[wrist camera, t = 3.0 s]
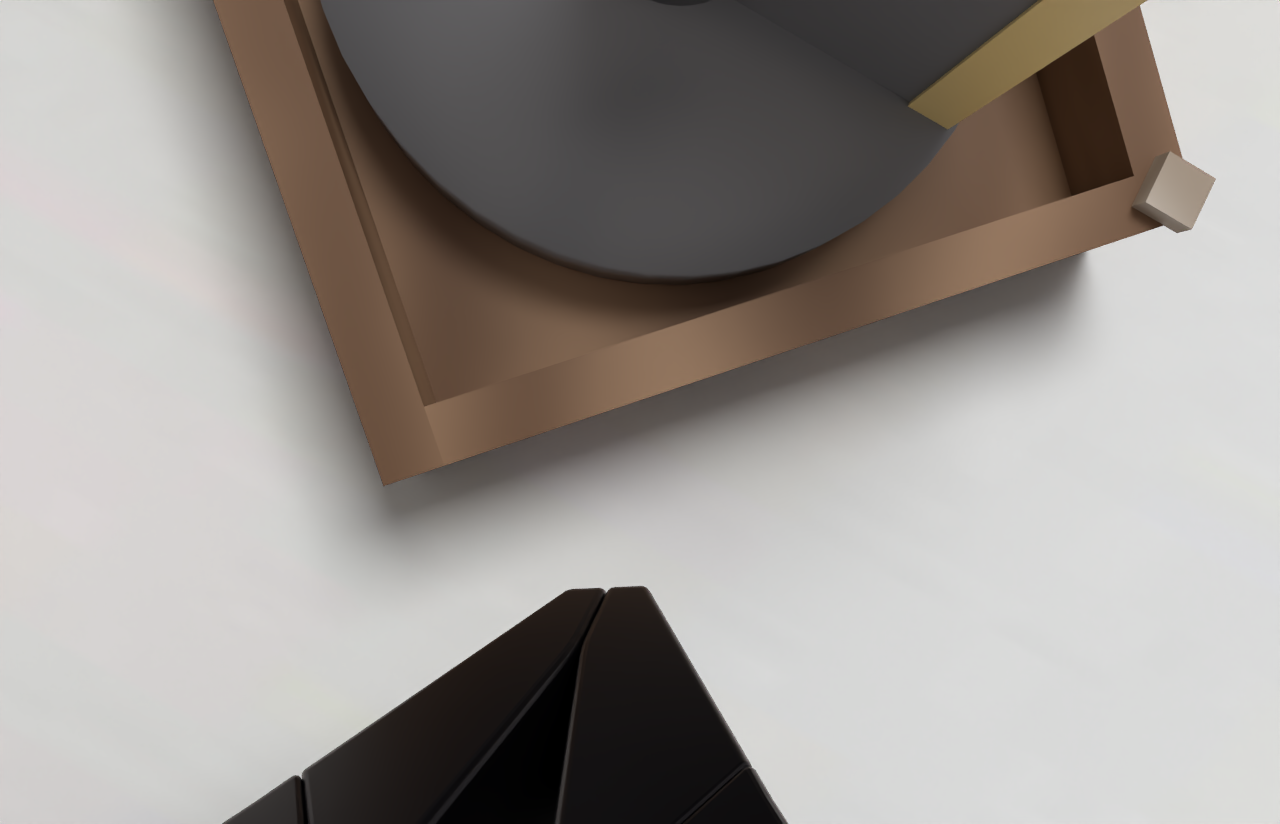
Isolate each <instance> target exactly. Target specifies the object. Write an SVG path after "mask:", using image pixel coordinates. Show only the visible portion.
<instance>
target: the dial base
mask: <svg viewBox="0 0 1280 824" xmlns="http://www.w3.org/2000/svg"><path fill="white" fill-rule="evenodd" d="M213 1H214V4H215V7H216V10H217V13H218V16H219V18H220V21H221V24H222V27H223V30H224V33H225V35H226V38H227V41H228V44H229V47H230V50H231V53H232V55H233V58H234V61H235V64H236V67H237V70H238V73H239V75H240V78H241V81H242V84H243V87H244V90H245V92H246V95H247V98H248V101H249V104H250V107H251V110H252V112H253V115H254V118H255V121H256V124H257V127H258V129H259V132H260V135H261V138H262V141H263V144H264V147H265V149H266V152H267V155H268V158H269V161H270V164H271V166H272V169H273V172H274V175H275V178H276V181H277V184H278V186H279V189H280V192H281V195H282V198H283V201H284V204H285V206H286V209H287V212H288V215H289V218H290V221H291V223H292V226H293V229H294V232H295V235H296V238H297V241H298V243H299V246H300V249H301V252H302V255H303V258H304V260H305V263H306V266H307V269H308V272H309V275H310V278H311V280H312V283H313V286H314V289H315V292H316V295H317V297H318V300H319V303H320V306H321V309H322V312H323V315H324V317H325V320H326V323H327V326H328V329H329V332H330V335H331V337H332V340H333V343H334V346H335V349H336V352H337V354H338V357H339V360H340V363H341V366H342V369H343V372H344V374H345V377H346V380H347V383H348V386H349V389H350V391H351V394H352V397H353V400H354V403H355V406H356V409H357V411H358V414H359V417H360V420H361V423H362V426H363V429H364V431H365V434H366V437H367V440H368V443H369V446H370V448H371V451H372V454H373V457H374V460H375V463H376V466H377V468H378V471H379V474H380V477H381V480H382V483H383V485H384V486H385V485H388V484H391V483H394V482H397V481H400V480H403V479H406V478H409V477H412V476H415V475H418V474H421V473H424V472H427V471H430V470H433V469H436V468H439V467H442V466H445V465H448V464H451V463H454V462H457V461H460V460H463V459H466V458H469V457H472V456H475V455H478V454H481V453H484V452H487V451H490V450H493V449H496V448H499V447H502V446H505V445H508V444H511V443H514V442H517V441H520V440H523V439H526V438H529V437H532V436H535V435H538V434H541V433H544V432H547V431H550V430H553V429H556V428H559V427H562V426H565V425H568V424H571V423H574V422H577V421H580V420H583V419H586V418H589V417H592V416H595V415H598V414H601V413H604V412H607V411H610V410H613V409H616V408H618V407H621V406H624V405H627V404H630V403H633V402H636V401H639V400H642V399H645V398H648V397H651V396H654V395H657V394H660V393H663V392H666V391H669V390H672V389H675V388H678V387H681V386H684V385H687V384H690V383H693V382H696V381H699V380H702V379H705V378H708V377H711V376H714V375H717V374H720V373H723V372H726V371H729V370H732V369H735V368H738V367H741V366H744V365H747V364H750V363H753V362H756V361H759V360H762V359H765V358H768V357H771V356H774V355H777V354H780V353H783V352H786V351H789V350H792V349H795V348H798V347H801V346H804V345H807V344H810V343H813V342H816V341H819V340H822V339H825V338H828V337H831V336H834V335H837V334H840V333H843V332H846V331H849V330H852V329H855V328H858V327H861V326H864V325H867V324H870V323H873V322H876V321H879V320H882V319H885V318H888V317H891V316H894V315H897V314H900V313H903V312H906V311H909V310H912V309H915V308H918V307H921V306H924V305H927V304H930V303H933V302H936V301H939V300H942V299H945V298H948V297H951V296H954V295H957V294H960V293H963V292H966V291H969V290H972V289H974V288H977V287H980V286H983V285H986V284H989V283H992V282H995V281H998V280H1001V279H1004V278H1007V277H1010V276H1013V275H1016V274H1019V273H1022V272H1025V271H1028V270H1031V269H1034V268H1037V267H1040V266H1043V265H1046V264H1049V263H1052V262H1055V261H1058V260H1061V259H1064V258H1067V257H1070V256H1073V255H1076V254H1079V253H1082V252H1085V251H1088V250H1091V249H1094V248H1097V247H1100V246H1103V245H1106V244H1109V243H1112V242H1115V241H1118V240H1121V239H1124V238H1127V237H1130V236H1133V235H1136V234H1139V233H1142V232H1145V231H1148V230H1151V229H1154V228H1157V227H1160V226H1163V225H1164V226H1166V227H1167V228H1169V229H1171V230H1173V231H1174V232H1176V233H1179V232H1183V231H1187V230H1191V229H1192V228H1193V226H1194V224H1195V222H1196V219H1197V217H1198V215H1199V213H1200V211H1201V209H1202V207H1203V205H1204V203H1205V201H1206V198H1207V196H1208V194H1209V192H1210V190H1211V188H1212V186H1213V184H1214V182H1215V180H1216V179H1215V178H1214V177H1212V176H1210V175H1209V174H1207V173H1205V172H1204V171H1202V170H1200V169H1199V168H1197V167H1195V166H1194V165H1192V164H1190V163H1189V162H1187V161H1185V160H1184V159H1182V155H1181V152H1180V148H1179V144H1178V141H1177V137H1176V134H1175V130H1174V127H1173V123H1172V119H1171V116H1170V112H1169V109H1168V105H1167V102H1166V98H1165V94H1164V91H1163V87H1162V84H1161V80H1160V76H1159V73H1158V69H1157V66H1156V62H1155V59H1154V55H1153V51H1152V48H1151V44H1150V41H1149V37H1148V34H1147V30H1146V26H1145V23H1144V19H1143V16H1142V12H1141V9H1140V5H1139V6H1138V7H1136V8H1135V9H1133V10H1132V11H1130V12H1128V13H1127V14H1125V15H1124V16H1122V17H1121V18H1119V19H1118V20H1116V21H1115V22H1113V23H1111V24H1110V25H1108V26H1107V27H1105V28H1104V29H1102V30H1101V31H1099V32H1098V33H1096V34H1095V35H1093V36H1091V37H1090V38H1088V39H1087V40H1085V41H1084V42H1082V43H1081V44H1079V45H1078V46H1076V47H1074V48H1073V49H1071V50H1070V51H1068V52H1067V53H1065V54H1064V55H1062V56H1061V57H1059V58H1058V59H1056V60H1054V61H1053V62H1051V63H1050V64H1048V65H1047V66H1045V67H1044V68H1042V69H1041V70H1039V71H1037V72H1036V73H1034V74H1033V75H1031V76H1030V77H1028V78H1027V79H1025V80H1024V81H1022V82H1021V83H1019V84H1017V85H1016V86H1014V87H1013V88H1011V89H1010V90H1008V91H1007V92H1005V93H1004V94H1002V95H1000V96H999V97H997V98H996V99H994V100H993V101H991V102H990V103H988V104H987V105H985V106H984V107H982V108H980V109H979V110H977V111H976V112H974V113H973V114H971V115H970V116H968V117H967V118H965V119H963V120H962V121H960V122H959V124H958V125H957V127H956V129H955V131H954V132H953V133H952V134H951V136H950V137H949V138H948V140H947V141H946V142H945V144H944V145H943V146H942V148H941V149H940V150H939V151H938V153H937V154H936V155H935V157H934V158H933V159H932V161H931V162H930V163H929V165H928V166H927V167H926V168H925V169H924V170H923V171H922V172H921V173H920V174H919V175H918V176H917V177H916V178H915V179H914V180H913V181H912V182H911V183H910V184H909V185H908V186H907V187H906V188H905V189H904V190H903V191H902V192H901V193H900V194H899V195H898V196H896V197H895V198H894V199H892V200H891V201H890V202H888V203H887V204H886V205H884V206H883V207H882V208H880V209H879V210H878V211H877V212H875V213H874V214H873V215H871V216H870V217H869V218H867V219H866V220H865V221H863V222H862V223H860V224H858V225H856V226H855V227H853V228H851V229H849V230H848V231H846V232H844V233H842V234H840V235H839V236H837V237H835V238H833V239H832V240H830V241H828V242H826V243H824V244H823V245H821V246H819V247H817V248H815V249H813V250H811V251H809V252H807V253H806V254H804V255H802V256H799V257H797V258H794V259H792V260H789V261H787V262H784V263H782V264H779V265H777V266H774V267H772V268H769V269H767V270H764V271H760V272H756V273H752V274H748V275H744V276H740V277H736V278H732V279H728V280H723V281H714V282H705V283H696V284H686V285H669V284H639V283H633V282H626V281H620V280H614V279H607V278H601V277H597V276H593V275H590V274H586V273H583V272H580V271H576V270H573V269H570V268H566V267H563V266H559V265H556V264H554V263H552V262H550V261H547V260H545V259H543V258H541V257H538V256H536V255H534V254H531V253H529V252H527V251H525V250H522V249H520V248H518V247H516V246H514V245H513V244H511V243H509V242H508V241H506V240H504V239H503V238H501V237H499V236H498V235H496V234H494V233H493V232H491V231H489V230H488V229H486V228H485V227H483V226H481V225H480V224H478V223H477V222H475V221H474V220H473V219H472V218H470V217H469V216H468V215H467V214H465V213H464V212H463V211H462V210H460V209H459V208H458V207H457V206H455V205H454V204H453V203H452V202H450V201H449V200H448V199H447V198H445V197H444V196H443V195H442V194H441V193H440V192H439V191H438V190H437V189H436V188H435V187H434V186H433V185H432V184H431V183H430V182H429V181H428V180H427V179H426V178H425V177H424V176H423V175H422V174H421V173H420V172H419V171H418V170H417V169H416V168H415V167H414V166H413V165H412V164H411V162H410V161H409V160H408V158H407V157H406V156H405V154H404V153H403V152H402V150H401V149H400V148H399V146H398V145H397V144H396V143H395V141H394V140H393V139H392V137H391V136H390V135H389V133H388V132H387V131H386V129H385V128H384V127H383V125H382V123H381V122H380V120H379V118H378V117H377V115H376V113H375V112H374V110H373V108H372V107H371V105H370V103H369V102H368V100H367V98H366V96H365V95H364V93H363V91H362V89H361V88H360V86H359V84H358V82H357V81H356V79H355V77H354V75H353V74H352V72H351V70H350V68H349V67H348V65H347V63H346V62H345V60H344V58H343V56H342V54H341V52H340V49H339V47H338V44H337V42H336V39H335V37H334V35H333V32H332V30H331V27H330V25H329V23H328V20H327V18H326V15H325V13H324V11H323V8H322V4H321V0H213Z"/></svg>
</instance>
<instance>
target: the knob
mask: <svg viewBox="0 0 1280 824" xmlns="http://www.w3.org/2000/svg"><path fill="white" fill-rule="evenodd" d="M1145 1H1147V0H321V4H322V8H323V11H324V13H325V15H326V18H327V20H328V23H329V25H330V27H331V30H332V32H333V35H334V37H335V39H336V42H337V44H338V47H339V49H340V52H341V54H342V56H343V58H344V60H345V62H346V63H347V65H348V67H349V68H350V70H351V72H352V74H353V75H354V77H355V79H356V81H357V82H358V84H359V86H360V88H361V89H362V91H363V93H364V95H365V96H366V98H367V100H368V102H369V103H370V105H371V107H372V108H373V110H374V112H375V113H376V115H377V117H378V118H379V120H380V122H381V123H382V125H383V127H384V128H385V129H386V131H387V132H388V133H389V135H390V136H391V137H392V139H393V140H394V141H395V143H396V144H397V145H398V146H399V148H400V149H401V150H402V152H403V153H404V154H405V156H406V157H407V158H408V160H409V161H410V162H411V164H412V165H413V166H414V167H415V168H416V169H417V170H418V171H419V172H420V173H421V174H422V175H423V176H424V177H425V178H426V179H427V180H428V181H429V182H430V183H431V184H432V185H433V186H434V187H435V188H436V189H437V190H438V191H439V192H440V193H441V194H442V195H443V196H444V197H445V198H447V199H448V200H449V201H450V202H452V203H453V204H454V205H455V206H457V207H458V208H459V209H460V210H462V211H463V212H464V213H465V214H467V215H468V216H469V217H470V218H472V219H473V220H474V221H475V222H477V223H478V224H480V225H481V226H483V227H485V228H486V229H488V230H489V231H491V232H493V233H494V234H496V235H498V236H499V237H501V238H503V239H504V240H506V241H508V242H509V243H511V244H513V245H514V246H516V247H518V248H520V249H522V250H525V251H527V252H529V253H531V254H534V255H536V256H538V257H541V258H543V259H545V260H547V261H550V262H552V263H554V264H556V265H559V266H563V267H566V268H570V269H573V270H576V271H580V272H583V273H586V274H590V275H593V276H597V277H601V278H607V279H614V280H620V281H626V282H633V283H639V284H669V285H686V284H696V283H705V282H714V281H723V280H728V279H732V278H736V277H740V276H744V275H748V274H752V273H756V272H760V271H764V270H767V269H769V268H772V267H774V266H777V265H779V264H782V263H784V262H787V261H789V260H792V259H794V258H797V257H799V256H802V255H804V254H806V253H807V252H809V251H811V250H813V249H815V248H817V247H819V246H821V245H823V244H824V243H826V242H828V241H830V240H832V239H833V238H835V237H837V236H839V235H840V234H842V233H844V232H846V231H848V230H849V229H851V228H853V227H855V226H856V225H858V224H860V223H862V222H863V221H865V220H866V219H867V218H869V217H870V216H871V215H873V214H874V213H875V212H877V211H878V210H879V209H880V208H882V207H883V206H884V205H886V204H887V203H888V202H890V201H891V200H892V199H894V198H895V197H896V196H898V195H899V194H900V193H901V192H902V191H903V190H904V189H905V188H906V187H907V186H908V185H909V184H910V183H911V182H912V181H913V180H914V179H915V178H916V177H917V176H918V175H919V174H920V173H921V172H922V171H923V170H924V169H925V168H926V167H927V166H928V165H929V163H930V162H931V161H932V159H933V158H934V157H935V155H936V154H937V153H938V151H939V150H940V149H941V148H942V146H943V145H944V144H945V142H946V141H947V140H948V138H949V137H950V136H951V134H952V133H953V132H954V131H955V129H956V127H957V125H958V124H959V122H960V121H962V120H963V119H965V118H967V117H968V116H970V115H971V114H973V113H974V112H976V111H977V110H979V109H980V108H982V107H984V106H985V105H987V104H988V103H990V102H991V101H993V100H994V99H996V98H997V97H999V96H1000V95H1002V94H1004V93H1005V92H1007V91H1008V90H1010V89H1011V88H1013V87H1014V86H1016V85H1017V84H1019V83H1021V82H1022V81H1024V80H1025V79H1027V78H1028V77H1030V76H1031V75H1033V74H1034V73H1036V72H1037V71H1039V70H1041V69H1042V68H1044V67H1045V66H1047V65H1048V64H1050V63H1051V62H1053V61H1054V60H1056V59H1058V58H1059V57H1061V56H1062V55H1064V54H1065V53H1067V52H1068V51H1070V50H1071V49H1073V48H1074V47H1076V46H1078V45H1079V44H1081V43H1082V42H1084V41H1085V40H1087V39H1088V38H1090V37H1091V36H1093V35H1095V34H1096V33H1098V32H1099V31H1101V30H1102V29H1104V28H1105V27H1107V26H1108V25H1110V24H1111V23H1113V22H1115V21H1116V20H1118V19H1119V18H1121V17H1122V16H1124V15H1125V14H1127V13H1128V12H1130V11H1132V10H1133V9H1135V8H1136V7H1138V6H1139V5H1141V4H1142V3H1144V2H1145Z"/></svg>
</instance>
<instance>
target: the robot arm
mask: <svg viewBox="0 0 1280 824" xmlns="http://www.w3.org/2000/svg"><path fill="white" fill-rule="evenodd" d="M222 824H788V822H787V821H786V819H785V818H784V816H783V815H782V813H781V812H780V810H779V809H778V807H777V805H776V804H775V802H774V801H773V799H772V797H771V796H770V794H769V792H768V791H767V789H766V787H765V786H764V784H763V782H762V781H761V779H760V777H759V775H758V774H757V772H756V771H755V770H754V769H753V768H752V766H751V764H750V762H749V760H748V759H747V757H746V755H745V754H744V752H743V750H742V748H741V747H740V745H739V743H738V742H737V740H736V738H735V736H734V735H733V733H732V731H731V730H730V728H729V726H728V724H727V723H726V721H725V719H724V718H723V716H722V714H721V712H720V711H719V709H718V707H717V706H716V704H715V702H714V700H713V699H712V697H711V695H710V694H709V692H708V690H707V689H706V687H705V685H704V683H703V682H702V680H701V678H700V677H699V675H698V673H697V671H696V670H695V668H694V666H693V665H692V663H691V661H690V659H689V658H688V656H687V654H686V653H685V651H684V649H683V647H682V646H681V644H680V642H679V641H678V639H677V637H676V635H675V634H674V632H673V630H672V629H671V627H670V625H669V623H668V622H667V620H666V618H665V617H664V615H663V613H662V611H661V610H660V608H659V606H658V605H657V603H656V601H655V599H654V598H653V596H652V594H651V593H650V591H649V590H648V589H647V588H646V587H644V586H632V587H614V588H611V589H609V590H608V591H607V593H606V591H605V590H603V589H601V588H589V589H570V590H567V591H565V592H564V593H562V594H561V595H559V596H558V597H556V598H555V599H553V600H552V601H550V602H549V603H548V604H546V605H545V606H543V607H542V608H540V609H539V610H537V611H536V612H534V613H533V614H532V615H530V616H529V617H527V618H526V619H524V620H523V621H521V622H520V623H518V624H517V625H515V626H514V627H513V628H511V629H510V630H508V631H507V632H505V633H504V634H502V635H501V636H499V637H498V638H496V639H495V640H494V641H492V642H491V643H489V644H488V645H486V646H485V647H483V648H482V649H480V650H479V651H478V652H476V653H475V654H473V655H472V656H470V657H469V658H467V659H466V660H464V661H463V662H461V663H460V664H459V665H457V666H456V667H454V668H453V669H451V670H450V671H448V672H447V673H445V674H444V675H442V676H441V677H440V678H438V679H437V680H435V681H434V682H432V683H431V684H429V685H428V686H426V687H425V688H423V689H422V690H421V691H419V692H418V693H416V694H415V695H413V696H412V697H410V698H409V699H407V700H406V701H404V702H403V703H402V704H400V705H399V706H397V707H396V708H394V709H393V710H391V711H390V712H388V713H387V714H385V715H384V716H383V717H381V718H380V719H378V720H377V721H375V722H374V723H372V724H371V725H369V726H368V727H366V728H365V729H364V730H362V731H361V732H359V733H358V734H356V735H355V736H353V737H352V738H350V739H349V740H347V741H346V742H345V743H343V744H342V745H340V746H339V747H337V748H336V749H334V750H333V751H331V752H330V753H328V754H327V755H326V756H324V757H323V758H321V759H320V760H318V761H317V762H315V763H314V764H312V765H311V766H309V767H308V768H307V769H305V770H304V771H303V773H302V779H301V778H300V777H299V776H296V775H295V776H292V777H291V778H289V779H288V780H286V781H285V782H283V783H282V784H280V785H279V786H278V787H276V788H275V789H273V790H272V791H270V792H269V793H267V794H266V795H265V796H263V797H262V798H260V799H259V800H257V801H256V802H254V803H253V804H251V805H250V806H248V807H247V808H245V809H244V810H242V811H241V812H239V813H238V814H236V815H235V816H233V817H232V818H230V819H228V820H227V821H225V822H224V823H222Z"/></svg>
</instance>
